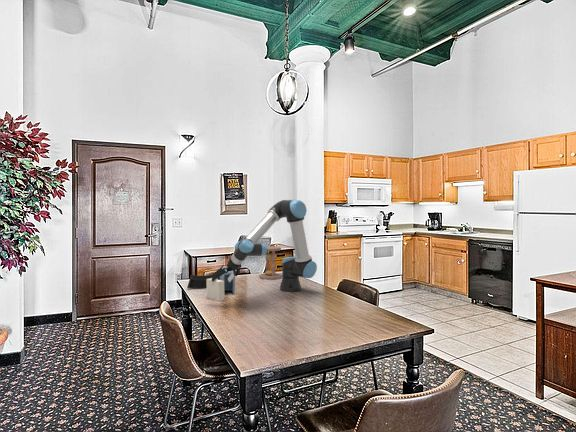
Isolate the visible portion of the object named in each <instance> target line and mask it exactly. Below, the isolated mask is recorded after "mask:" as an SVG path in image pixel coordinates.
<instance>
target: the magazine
mask: <svg viewBox="0 0 576 432" xmlns="http://www.w3.org/2000/svg"><path fill="white" fill-rule="evenodd" d="M210 278H213V277H212V274H208V275H197V274H196V275H194V274H190V276H189V279H188V282H187V283H188V284H187V289H198V290H199V289H200V290H204V289H207V279H210ZM217 279H218V280H220V277H218V278H217Z"/></svg>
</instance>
